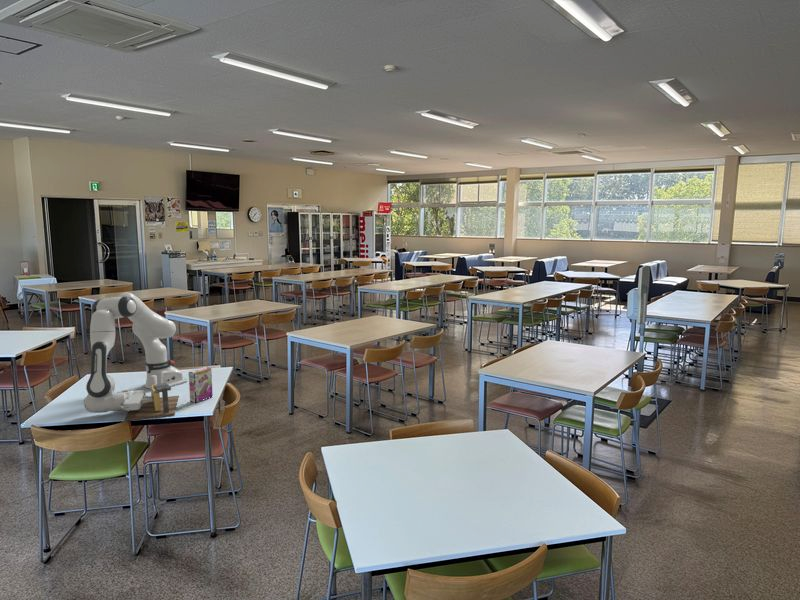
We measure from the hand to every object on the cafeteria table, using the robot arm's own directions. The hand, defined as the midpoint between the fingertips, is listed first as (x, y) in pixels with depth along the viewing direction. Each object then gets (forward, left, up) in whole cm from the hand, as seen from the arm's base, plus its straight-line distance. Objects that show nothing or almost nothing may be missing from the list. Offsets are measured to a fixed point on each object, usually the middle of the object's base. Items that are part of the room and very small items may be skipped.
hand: (152, 398), depth 268 cm
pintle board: (-1, -2, -6) cm, 6 cm away
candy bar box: (-24, +4, -6) cm, 25 cm away
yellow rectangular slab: (-2, -2, -4) cm, 6 cm away
